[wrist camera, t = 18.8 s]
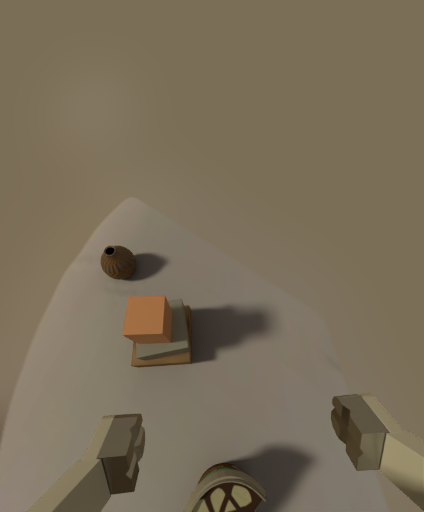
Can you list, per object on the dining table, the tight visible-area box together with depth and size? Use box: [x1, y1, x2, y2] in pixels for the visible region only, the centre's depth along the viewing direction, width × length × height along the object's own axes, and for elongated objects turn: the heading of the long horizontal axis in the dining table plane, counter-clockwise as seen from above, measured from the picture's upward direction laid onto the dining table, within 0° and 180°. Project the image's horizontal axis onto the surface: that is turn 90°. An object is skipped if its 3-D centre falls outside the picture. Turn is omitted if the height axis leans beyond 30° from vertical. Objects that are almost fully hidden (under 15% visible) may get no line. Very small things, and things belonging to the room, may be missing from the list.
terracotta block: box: [123, 296, 172, 344], centre depth 33 cm, size 5×5×8 cm
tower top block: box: [136, 299, 190, 361], centre depth 39 cm, size 8×8×5 cm
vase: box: [101, 246, 136, 279], centre depth 48 cm, size 7×7×9 cm
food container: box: [184, 463, 266, 512], centre depth 30 cm, size 12×6×10 cm, turn 132°
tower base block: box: [131, 305, 192, 367], centre depth 43 cm, size 10×10×5 cm
